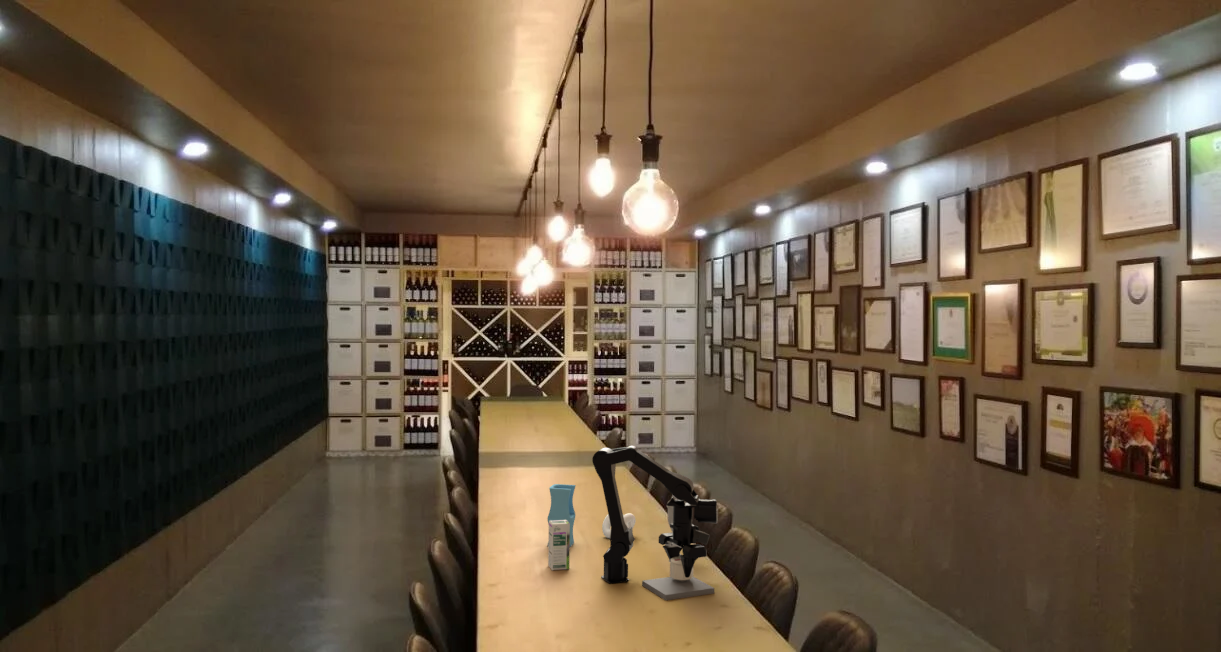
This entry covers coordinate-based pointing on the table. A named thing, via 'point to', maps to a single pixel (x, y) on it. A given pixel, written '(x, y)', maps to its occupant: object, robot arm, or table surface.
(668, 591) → the board
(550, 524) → the syrup box
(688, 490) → the robot arm
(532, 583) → the table surface
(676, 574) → the knob
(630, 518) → the white rounded lump
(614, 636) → the table surface
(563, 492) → the vase
